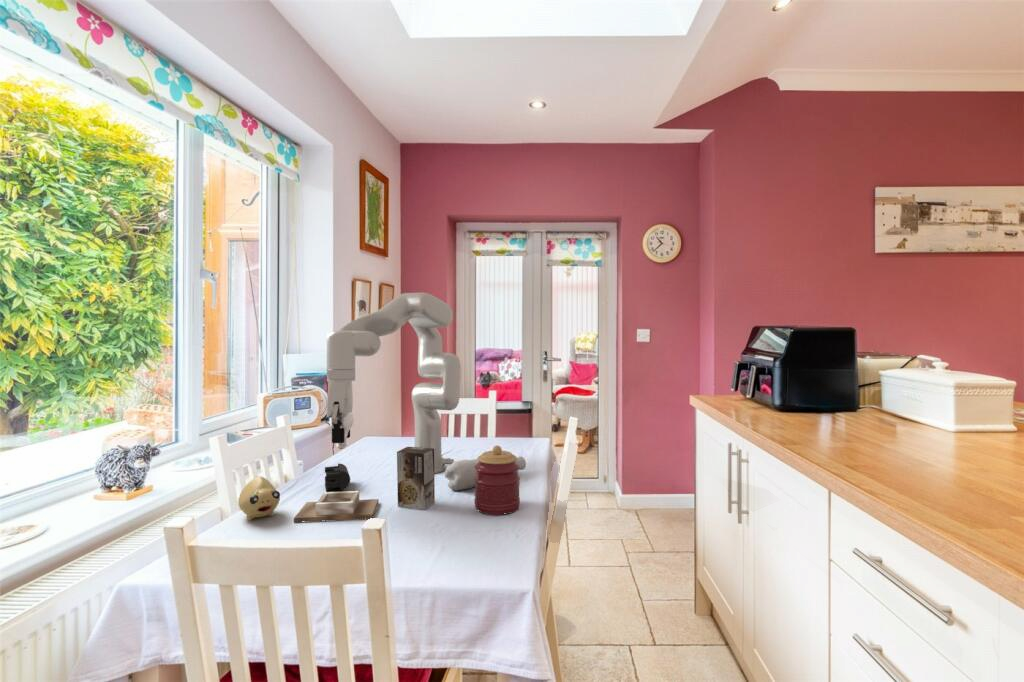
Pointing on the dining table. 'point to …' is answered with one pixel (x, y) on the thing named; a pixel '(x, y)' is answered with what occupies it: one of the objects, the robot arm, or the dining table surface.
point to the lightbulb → (346, 425)
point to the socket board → (338, 507)
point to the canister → (497, 482)
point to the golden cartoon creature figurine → (258, 498)
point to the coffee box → (415, 477)
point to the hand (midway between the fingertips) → (341, 439)
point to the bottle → (467, 473)
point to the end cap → (336, 478)
